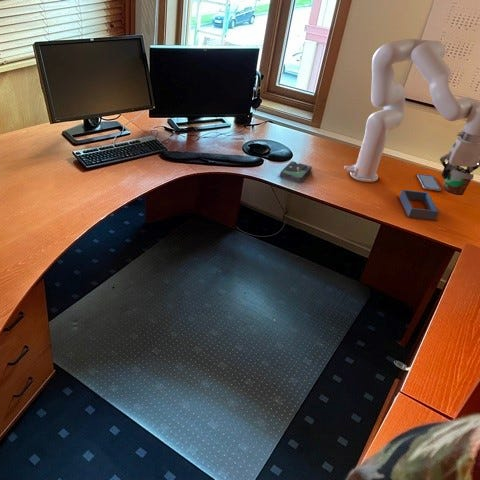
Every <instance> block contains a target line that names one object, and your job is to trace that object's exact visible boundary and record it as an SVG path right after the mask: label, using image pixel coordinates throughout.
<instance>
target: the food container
mask: <svg viewBox="0 0 480 480" xmlns="http://www.w3.org/2000/svg"><path fill="white" fill-rule="evenodd" d="M474 175H475V174H473V173H470V174H469V173H468V172H467V171H466V168H464V167H463V166H455V165H453V166H452V167H450V168H449V173H448V176H447V178H446V179H443V184H442V188H441V189H443V191H445V192H447V193H449V194H451V195H456V196H463V195H464V194H465V192H466V190H467V188H468V186H469V184H470V183H471V181H472V180H474Z"/></svg>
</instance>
